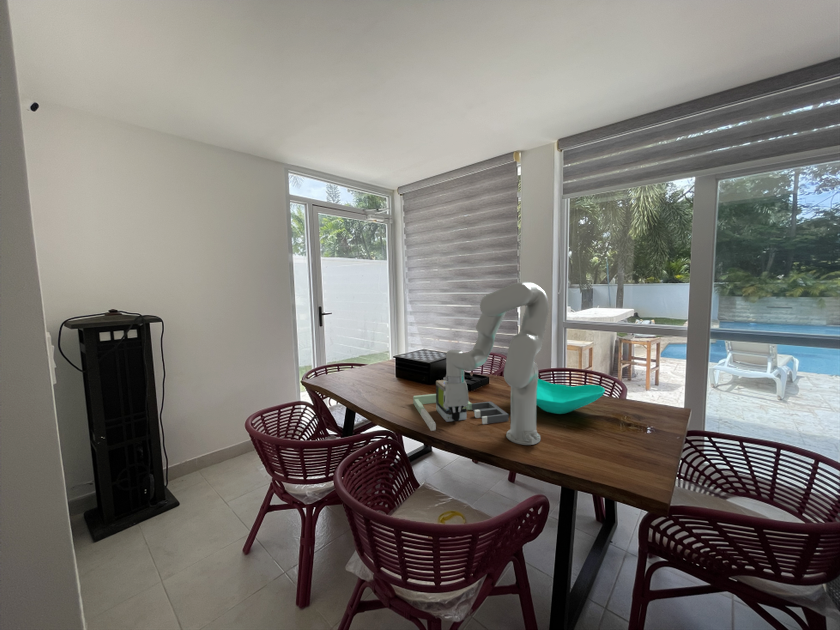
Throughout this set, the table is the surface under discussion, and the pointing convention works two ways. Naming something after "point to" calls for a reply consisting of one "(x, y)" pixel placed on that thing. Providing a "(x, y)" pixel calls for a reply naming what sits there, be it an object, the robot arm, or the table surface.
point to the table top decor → (565, 396)
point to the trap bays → (491, 412)
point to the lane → (432, 399)
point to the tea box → (440, 403)
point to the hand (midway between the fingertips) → (455, 420)
